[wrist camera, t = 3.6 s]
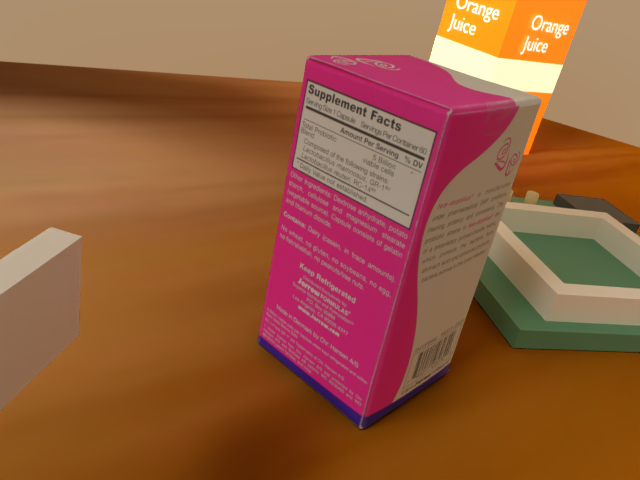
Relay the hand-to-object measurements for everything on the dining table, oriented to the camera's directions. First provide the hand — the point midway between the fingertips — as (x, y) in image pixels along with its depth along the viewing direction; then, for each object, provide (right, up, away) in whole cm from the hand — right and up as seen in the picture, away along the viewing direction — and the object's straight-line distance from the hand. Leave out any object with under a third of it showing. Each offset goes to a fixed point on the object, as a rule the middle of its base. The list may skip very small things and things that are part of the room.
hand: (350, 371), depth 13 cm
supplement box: (0, -2, +11) cm, 11 cm away
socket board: (+14, +1, +23) cm, 27 cm away
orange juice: (+14, +12, +45) cm, 49 cm away
